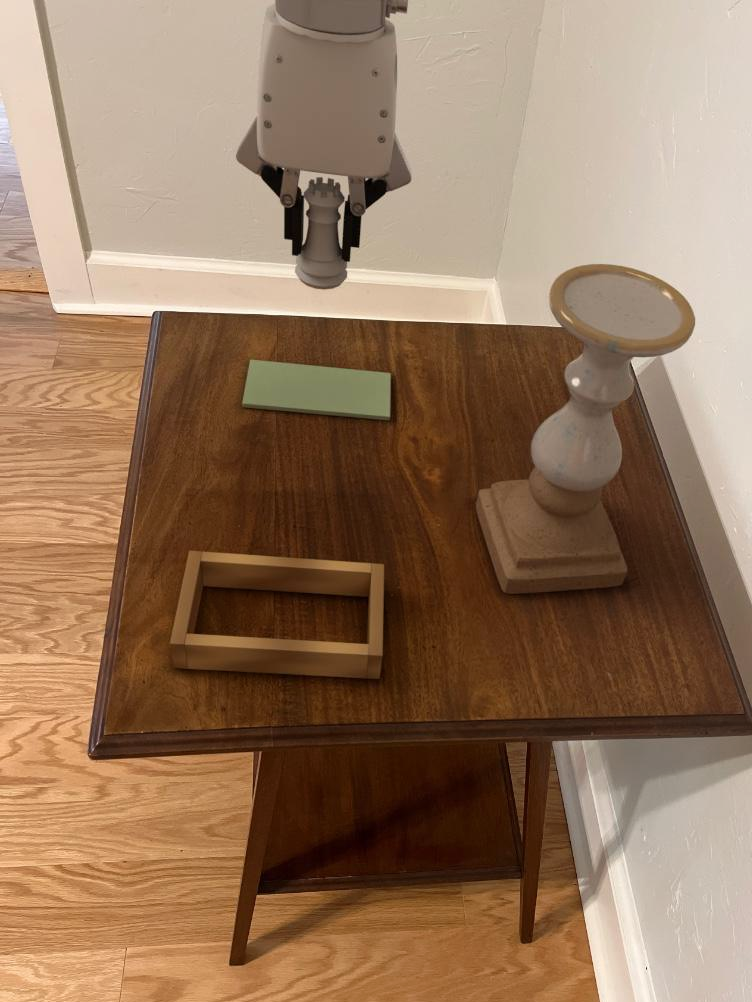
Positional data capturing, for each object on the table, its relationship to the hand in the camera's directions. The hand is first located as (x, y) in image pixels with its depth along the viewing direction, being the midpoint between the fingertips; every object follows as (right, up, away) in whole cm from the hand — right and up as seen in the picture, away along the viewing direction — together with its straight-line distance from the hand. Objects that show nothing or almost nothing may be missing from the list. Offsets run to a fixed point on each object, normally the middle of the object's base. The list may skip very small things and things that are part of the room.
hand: (322, 248), depth 75 cm
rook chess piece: (0, -2, +2) cm, 3 cm away
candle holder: (+19, -24, +5) cm, 31 cm away
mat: (-2, -9, +14) cm, 16 cm away
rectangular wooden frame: (-2, -31, -5) cm, 32 cm away
